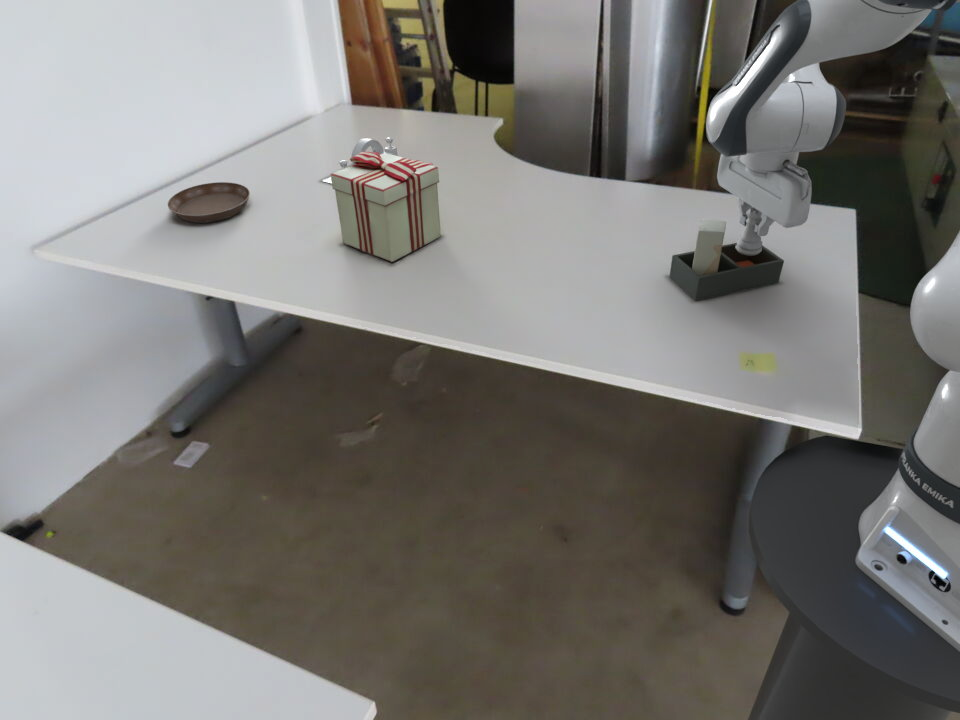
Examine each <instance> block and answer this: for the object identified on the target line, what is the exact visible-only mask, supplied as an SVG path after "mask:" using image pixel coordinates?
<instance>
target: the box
mask: <svg viewBox="0 0 960 720" xmlns="http://www.w3.org/2000/svg"><path fill="white" fill-rule="evenodd" d="M726 228H727V221H726V220H721V219H710V218H700V220H699V225H698V230H697V235H696V236H697V237H696V241H695V242H696V243H695V247H694V251H695V254H694V260H693V266H692V270H694V271H695V272H696V273H697V274H698V275H699V276H703V275H708V274H712V273H717V271H718V266H719V261H720V255H721V250H722V246H723V245H724V239H725V234H726V230H727V229H726Z"/></svg>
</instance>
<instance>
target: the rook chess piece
mask: <svg viewBox="0 0 960 720" xmlns="http://www.w3.org/2000/svg"><path fill="white" fill-rule="evenodd" d="M746 214H747V216H748V219H747V220H746V227H745V226H744V230H743V232H742V234H741V235H740V237H739V238H738V239H737V240H736V243H737V245H736V250H737V251H738V252H739V253H741V254H743V255H748V256H754V255H757V254H759V253H760V252H761V251H762V248H761V247H762V245H763V241H762V238H761V237H762V236H761V237H760V236H758V235H757V234H755V233H754V230H755V224H760V223H761V221H762V220H763V219H762V218H761V214H762V213H761V212H760V211H758V210H757V209H755V208H754V207H752V206H750V207H749V210H748V211H747V212H746Z"/></svg>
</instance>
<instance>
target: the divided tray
mask: <svg viewBox="0 0 960 720" xmlns="http://www.w3.org/2000/svg"><path fill="white" fill-rule="evenodd" d="M736 245H737V242H734V243H733V242H732V243H729V244H723V245H722V250H721V255H720V261H719V266H718V271H717V273H712V274H708V275H703V276H699V275H698V274H697V273H696V272H695V271H694V270H692V266H693V260H694V254H695V250H692V251H688V252H683V253H678V254H672V256H671V262H670V269H669V279H671V280H672V281H673V282H674V283H675V284H676V285H677V286H678V287H679V288H680V289H681V290H682V291H684V293H686V294H687V295H688V296H689V297H690V298H691V299H692V300H693V301H701V300H705V299H711V298H714V297H719V296H724V295H729V294H733V293H738V292H743V291H747V290H752V289H757V288H761V287H766V286H770V285H774V284H775V285H777V284H779V283H780V279H781V275H782V271H783V267H784V262H785V260H784V259H782V258H781V257H780V256H778V255H777V254H776V253H774V252H773V251H771V250H770V249H768V248H767V247H765V246H764V245H763V244H762V247H761V248H762V251H761V252H760V253H759V254H757V255H754V256H748V255H743V254H741V253H739V252H738V251H737V250H736Z"/></svg>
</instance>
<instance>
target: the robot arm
mask: <svg viewBox="0 0 960 720" xmlns="http://www.w3.org/2000/svg"><path fill="white" fill-rule="evenodd" d="M958 3H959V4H960V0H796V1H795V2H793V3H792V4H790V5H788V6H787V7H786V8H785V9H784V10H783V11H782V12H781V13H780V14H779V15H778V16H777V18H776V19H775V20H774V22H772V24H771V26H770V27H769V28H768V30H767V31H766V32H765V33H764V35H763V36H762V38H761V39H760V41H759V42H758V43H757V44H756V46H755V47H754V49H753V50H752V51H751V53H750V54H749V56H748V57H747V58H746V60H745V61H744V62H743V64H742V65H741V67H740V68H739V69H738V70H737V72H736V74H735V75H734V76H733V78H731V79H730V81H728V82H727V83H726V84H725V85H724V86H723V87H722V88H721V89H720V90H719V91H718V92H717V93H716V94H715V95H714V97H713V98H712V100H711V101H710V104H709V107H708V111H707V115H706V121H705V135H706V138H707V140H708V142H709V144H711V146H712V147H713V148H714V149H716V150H717V151H718V153H720V155H719V161H718V166H717V174H716V178H717V183H718V186H719V187H721V188H723V189H724V190H726V191H727V192H728V193H730V194H732V195H734V196H735V197H736V198H738V209H739V215H740V216H739V222H738V223H739V224H741V225H742V226H743V227H744V228H745V227H746V220H747V219H748V216H747V214H746V212H747V211H748V210H749V207H750V206H752V207H754V208H755V209H757V210H758V211H760V212H761V213H762V214H761V218H762V221H761V223H760V224H755V230H754V233H755V234H757V235H758V236H760V237H765V236H767V235H768V234H769V230H770V227H771V226H772V225H773V224H774V223H777V224H778V225H780V226H781V227H783V228H785V229H790V228H791V229H792V228H796V227H800V226H802V225H804V224H806V222H807V221H808V218H809V214H810V209H811V202H812V191H813V189H812V179H811V178H810V176H809V174H808V173H809V171H808V170H807V169H806V168H804V167H801V166H799V165H798V164H797V163H798V160H799V156H800V153H809V152H810V153H811V152H817V151H822V150H824V149H826V148H827V147H828V146H829V145H831V144H832V143H833V142H834V140H836V138H837V137H838V136H839V134H840V133H841V130H842V128H843V126H844V121H845V118H846V111H847V101H846V98H845V97H844V95H843V94H842V92H841V91H840V90H839V89H838V87H836V86H835V85H834V84H832V83H829V82H828V81H827V79H826V78H825V77H824V75H823V73H822V71H821V69H820V68H821V67H820V63H823V62H828V61H833V60H837V59H842V58H849V57H854V56H860V55H865V54H870V53H875V52H878V51H881V50H885V49H887V48H889V47H892V46H893V45H895V44H897V43H898V42H900V41H902V40H903V39H904V38H905V37H906V36H908V35H909V34H910V33H912V31H914V30H915V29H916V28H918V27H919V26H920V25H921V24H922V23H923V21H925V19H926V18H927V17H928V16H929V15H930V13H931V12H932V11H940V12H947V11H948V10H950V9H951V8H952V7H953V6H954V5H955V4H958ZM911 298H912V299H911V302H910V309H909V311H910V312H909V313H910V315H909V316H910V324H911V328H912V331H913V335H914V337H915V339H916V341H917V343H918V345H919V347H920V348H921V349H922V350H923V352H924V353H925V354H926V355H927V356H928V357H929V359H931V360H932V361H933V362H934V363H936V364H937V365H938V366H941V367H942V368H944V369H946V370H949V371H947V372H946V374H945V375H944V376H943V377H942V378H941V380H940V381H939V383H938V384H937V386H936V388H935V391H934V393H933V395H932V397H931V399H930V401H929V403H928V406H927V408H926V411H925V413H924V414H923V417H922V420H921V421H920V424H919V425H918V426H917V428H915V429H913V431H912V432H911V433H910V435H909V437H908V439H907V441H906V443H905V445H904V447H903V448H902V449H903V451H902V453H901V456H900V458H899V463H898V465H899V468H898V470H897V472H896V473H895V475H894V476H893V478H892V480H891V481H890V483H889V484H888V485H887V487H886V488H885V489H884V491H883V492H882V493H881V495H880V496H879V497H878V498H877V499H876V500H875V501H874V502H873V503H872V504H871V505H869V506H868V507H867V508H866V509H865V510H864V511H863V513H862V514H861V517H860V519H859V527H858V529H859V536H860V542H861V546H860V548H859V550H858V552H857V555H856V559H855V562H856V565H857V566H858V567H859V568H860V569H861V570H862V571H863V572H864V573H865V574H867V575H868V576H869V577H870V578H871V579H873V580H874V581H875V582H876V583H877V584H879V585H880V586H881V587H882V588H883V589H885V590H886V591H887V592H888V593H889V594H891V595H892V596H893V597H894V598H895V599H897V600H898V601H899V602H900V603H901V604H903V605H904V606H905V607H906V608H907V609H909V610H910V611H911V612H912V613H913V614H915V615H916V616H917V617H918V618H919V619H921V620H922V621H923V622H924V623H926V624H927V625H928V626H929V627H930V628H932V629H933V630H934V631H935V632H936V633H938V634H939V635H940V636H941V637H942V638H944V639H945V640H946V641H947V642H948V643H950V644H951V645H952V646H953V647H954V648H956V649H957V650H958V651H959V652H960V229H959V231H958V233H957V234H956V236H955V238H954V240H953V242H952V243H951V245H950V247H949V248H948V249H947V251H946V252H945V254H944V255H943V256H942V258H941V259H940V260H939V261H938V262H937V263H936V264H935V265H934V266H933V267H932V268H931V269H929V271H928V272H927V273H926V274H925V275H924V276H923V277H922V278H921V279H920V280H919V282H918V283H917V285H916V287H915V289H914V292H913V294H912V297H911ZM875 568H876V569H878V570H880V571H878V570H876V569H875Z"/></svg>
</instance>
